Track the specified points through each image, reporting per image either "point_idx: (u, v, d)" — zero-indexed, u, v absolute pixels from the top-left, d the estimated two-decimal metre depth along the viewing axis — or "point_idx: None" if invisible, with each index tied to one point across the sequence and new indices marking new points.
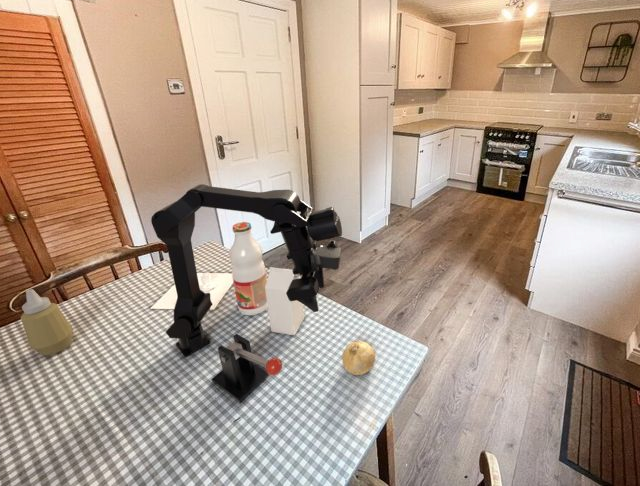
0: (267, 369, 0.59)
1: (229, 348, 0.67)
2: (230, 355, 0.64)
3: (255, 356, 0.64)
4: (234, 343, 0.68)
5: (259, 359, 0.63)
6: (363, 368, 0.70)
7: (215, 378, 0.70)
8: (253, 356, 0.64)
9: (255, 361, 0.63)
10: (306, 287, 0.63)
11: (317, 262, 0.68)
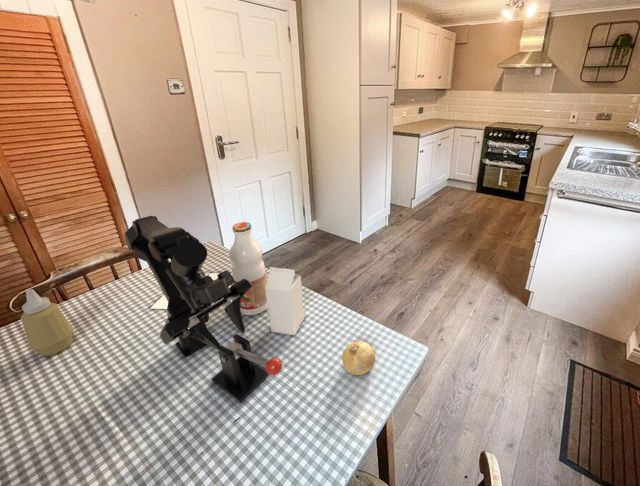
0: (267, 369, 0.59)
1: (229, 348, 0.67)
2: (230, 355, 0.64)
3: (255, 356, 0.64)
4: (234, 343, 0.68)
5: (259, 359, 0.63)
6: (363, 368, 0.70)
7: (215, 378, 0.70)
8: (253, 356, 0.64)
9: (255, 361, 0.63)
10: (164, 327, 0.57)
11: (195, 298, 0.61)
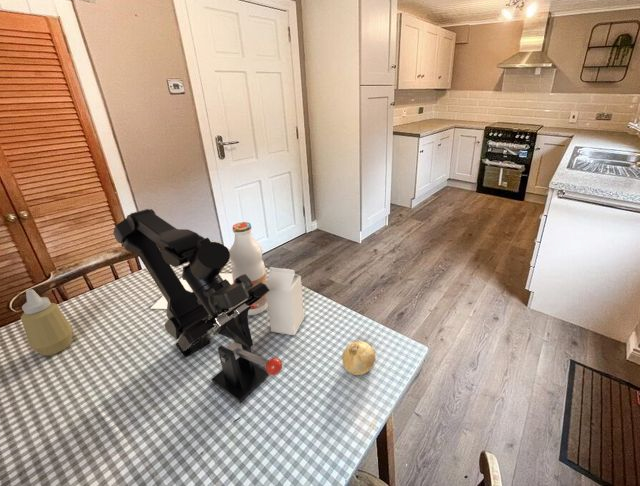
0: (267, 369, 0.59)
1: (229, 348, 0.67)
2: (230, 355, 0.64)
3: (255, 356, 0.64)
4: (234, 343, 0.68)
5: (259, 359, 0.63)
6: (363, 368, 0.70)
7: (215, 378, 0.70)
8: (253, 356, 0.64)
9: (255, 361, 0.63)
10: (183, 333, 0.55)
11: (213, 303, 0.59)
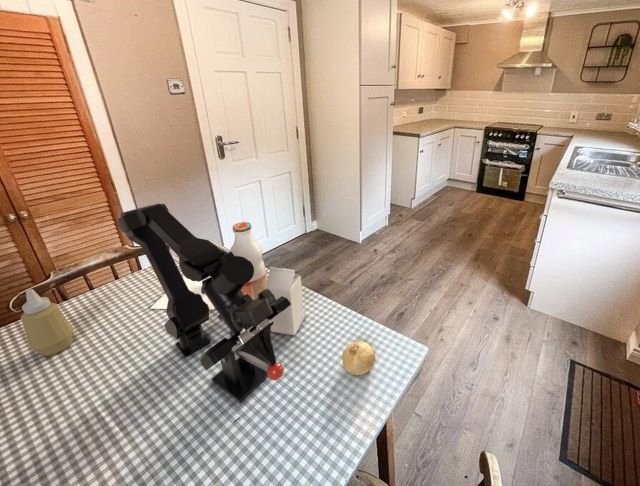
0: (269, 374, 0.60)
1: None
2: (230, 355, 0.64)
3: (256, 359, 0.64)
4: None
5: (260, 362, 0.63)
6: (363, 368, 0.70)
7: (215, 378, 0.70)
8: (254, 359, 0.64)
9: (256, 364, 0.63)
10: (206, 353, 0.53)
11: (236, 319, 0.57)
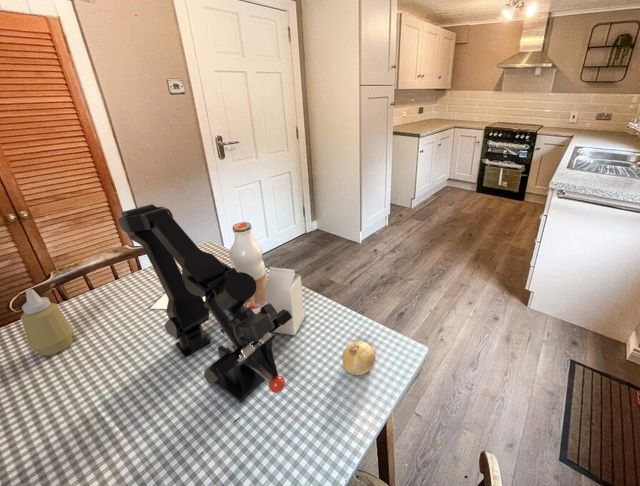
0: (271, 387, 0.61)
1: (230, 349, 0.67)
2: None
3: None
4: None
5: None
6: (363, 368, 0.70)
7: None
8: None
9: (257, 371, 0.64)
10: (210, 368, 0.54)
11: (239, 334, 0.58)
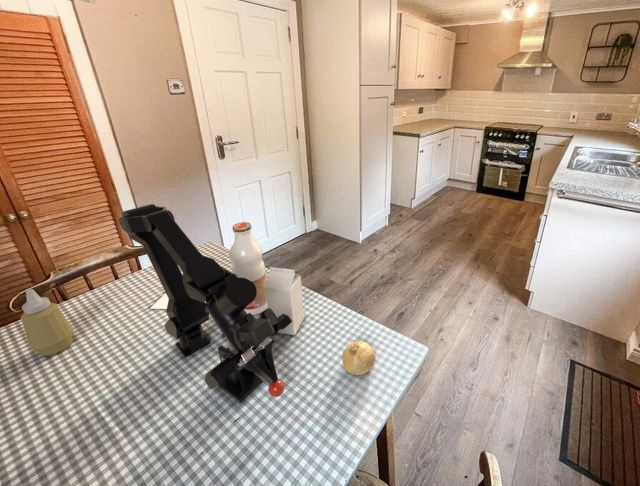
0: (271, 392, 0.62)
1: (231, 349, 0.67)
2: (230, 355, 0.64)
3: None
4: None
5: None
6: (363, 368, 0.70)
7: None
8: None
9: (257, 374, 0.64)
10: (210, 372, 0.55)
11: (239, 339, 0.59)
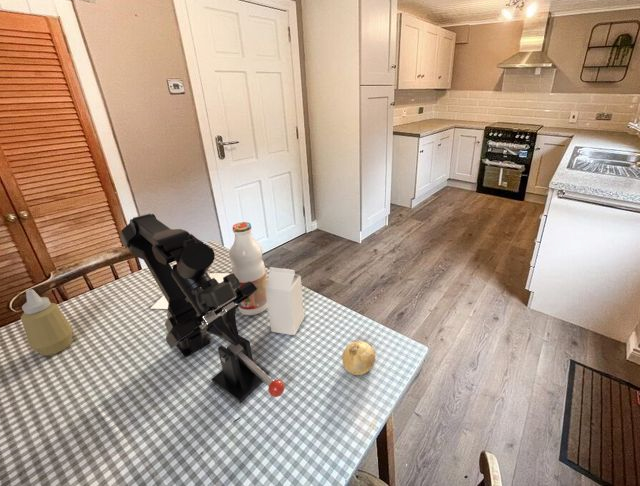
0: (271, 392, 0.62)
1: (231, 349, 0.67)
2: (230, 355, 0.64)
3: (257, 368, 0.65)
4: None
5: (262, 374, 0.64)
6: (363, 368, 0.70)
7: (215, 378, 0.70)
8: (255, 368, 0.65)
9: (257, 374, 0.64)
10: (170, 331, 0.56)
11: (201, 301, 0.61)
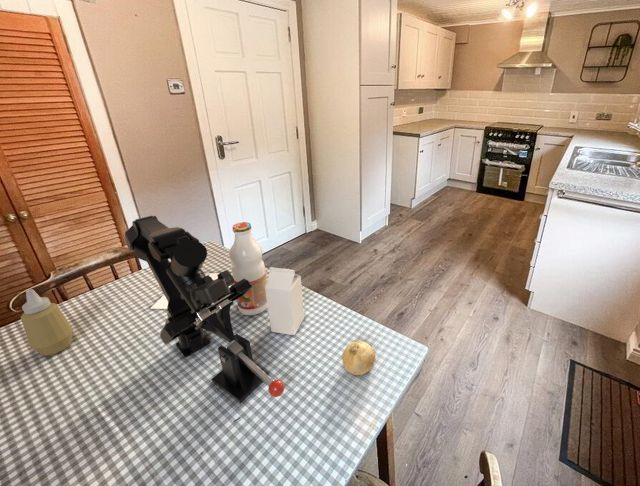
0: (271, 392, 0.62)
1: (231, 349, 0.67)
2: (230, 355, 0.64)
3: (257, 368, 0.65)
4: (236, 343, 0.68)
5: (262, 374, 0.64)
6: (363, 368, 0.70)
7: (215, 378, 0.70)
8: (255, 368, 0.65)
9: (257, 374, 0.64)
10: (164, 327, 0.57)
11: (195, 298, 0.61)
